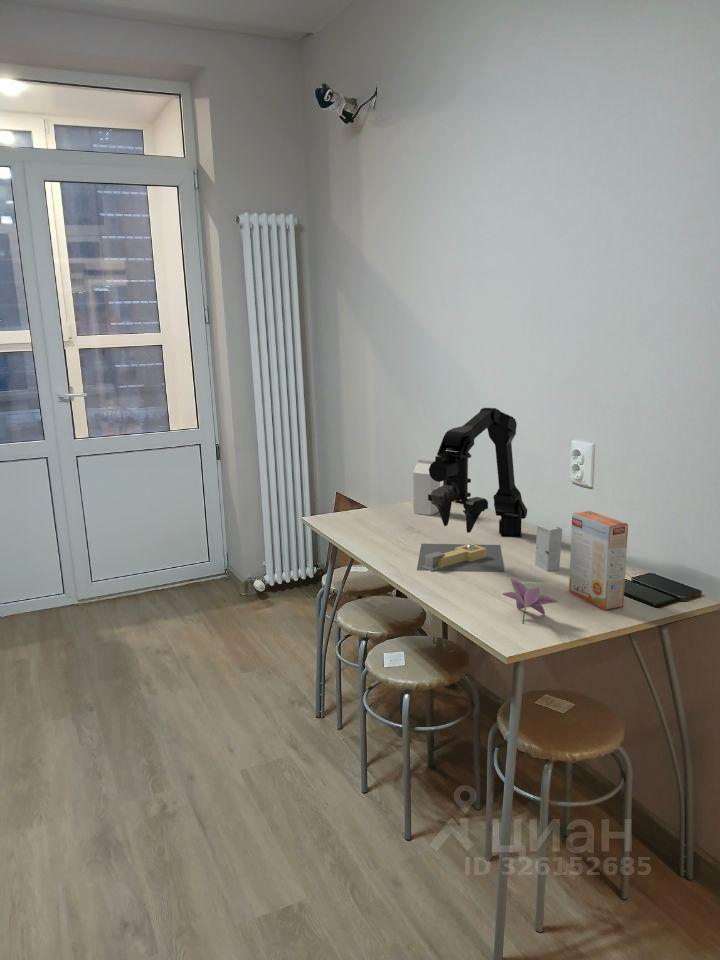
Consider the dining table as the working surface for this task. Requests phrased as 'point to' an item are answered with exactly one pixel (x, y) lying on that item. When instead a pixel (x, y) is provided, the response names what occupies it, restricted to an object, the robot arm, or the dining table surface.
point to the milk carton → (423, 488)
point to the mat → (486, 564)
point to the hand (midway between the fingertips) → (457, 529)
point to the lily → (529, 597)
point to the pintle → (470, 547)
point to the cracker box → (598, 559)
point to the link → (461, 555)
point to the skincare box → (548, 547)
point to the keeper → (432, 561)
